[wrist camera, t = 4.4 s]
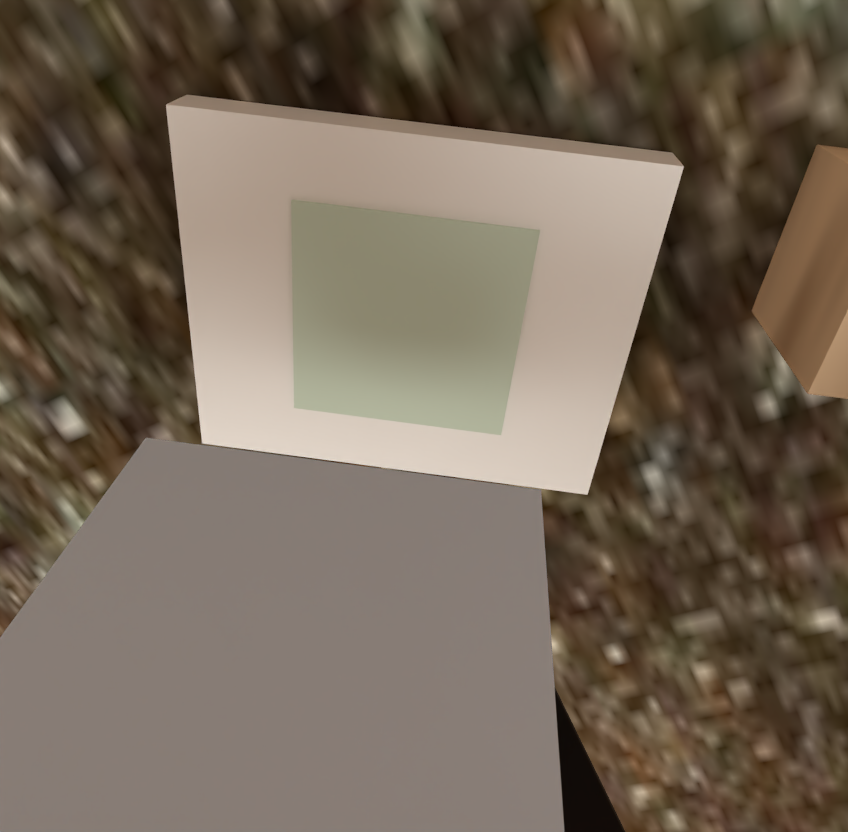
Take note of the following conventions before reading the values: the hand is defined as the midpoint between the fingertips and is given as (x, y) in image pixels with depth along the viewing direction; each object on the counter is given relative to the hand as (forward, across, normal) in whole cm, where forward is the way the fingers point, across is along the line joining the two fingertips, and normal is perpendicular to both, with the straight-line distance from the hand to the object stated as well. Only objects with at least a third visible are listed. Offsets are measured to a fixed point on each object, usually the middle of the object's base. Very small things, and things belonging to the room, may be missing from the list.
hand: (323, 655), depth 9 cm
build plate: (+11, 0, 0) cm, 11 cm away
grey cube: (+1, 0, 0) cm, 1 cm away
